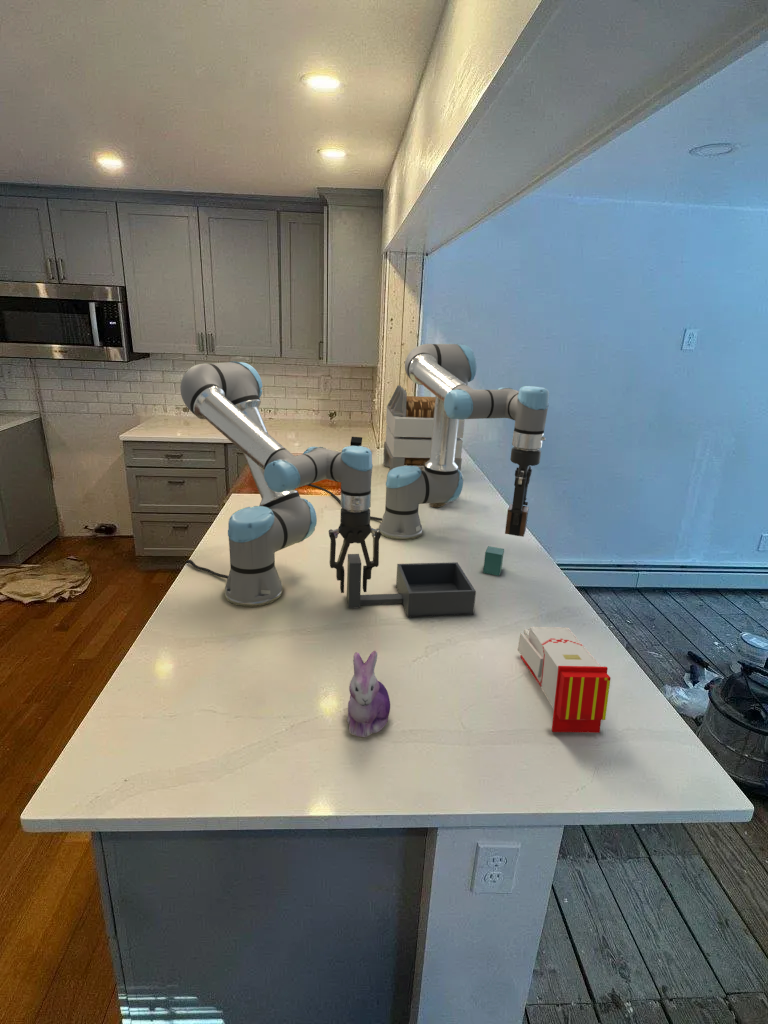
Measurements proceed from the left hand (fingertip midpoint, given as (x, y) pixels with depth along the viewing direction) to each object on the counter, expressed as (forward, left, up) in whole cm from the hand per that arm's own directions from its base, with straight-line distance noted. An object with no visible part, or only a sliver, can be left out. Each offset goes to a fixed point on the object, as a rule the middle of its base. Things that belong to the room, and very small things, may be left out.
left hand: (353, 590), depth 151 cm
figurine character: (-45, +160, -4) cm, 166 cm away
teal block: (+35, +32, -4) cm, 48 cm away
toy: (+51, -23, -4) cm, 56 cm away
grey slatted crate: (-5, +133, -4) cm, 133 cm away
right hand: (+40, +19, +15) cm, 47 cm away
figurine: (+16, -44, -4) cm, 47 cm away
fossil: (+11, +94, -4) cm, 95 cm away
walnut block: (+40, +19, +15) cm, 47 cm away
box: (+14, +6, -4) cm, 15 cm away
